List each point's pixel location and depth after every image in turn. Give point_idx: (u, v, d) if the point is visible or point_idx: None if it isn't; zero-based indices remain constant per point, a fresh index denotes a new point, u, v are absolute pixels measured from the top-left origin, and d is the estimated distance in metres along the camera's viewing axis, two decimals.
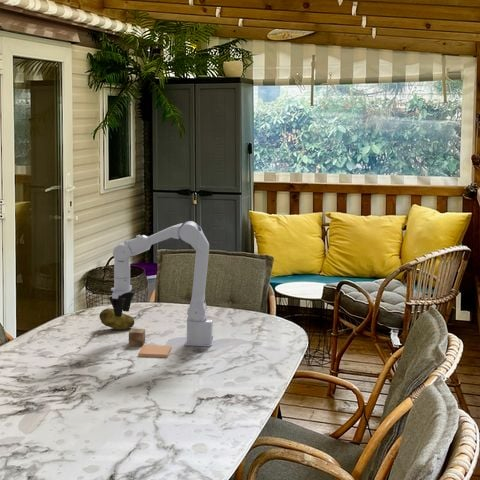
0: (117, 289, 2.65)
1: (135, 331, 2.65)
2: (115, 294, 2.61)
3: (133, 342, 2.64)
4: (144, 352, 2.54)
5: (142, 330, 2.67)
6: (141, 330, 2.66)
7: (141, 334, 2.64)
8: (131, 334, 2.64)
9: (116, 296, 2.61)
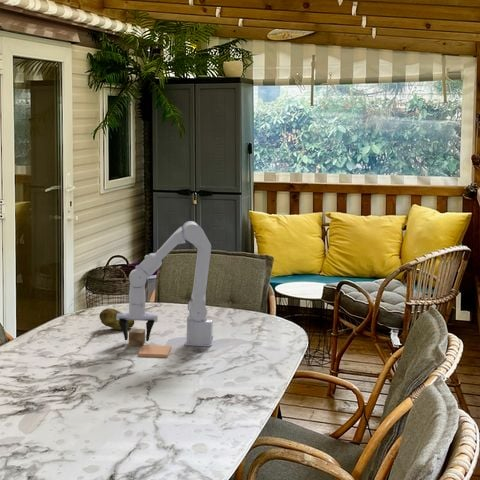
0: None
1: (135, 331, 2.65)
2: None
3: (133, 342, 2.64)
4: (144, 352, 2.54)
5: (142, 330, 2.67)
6: (141, 330, 2.66)
7: (141, 334, 2.64)
8: (131, 334, 2.64)
9: None
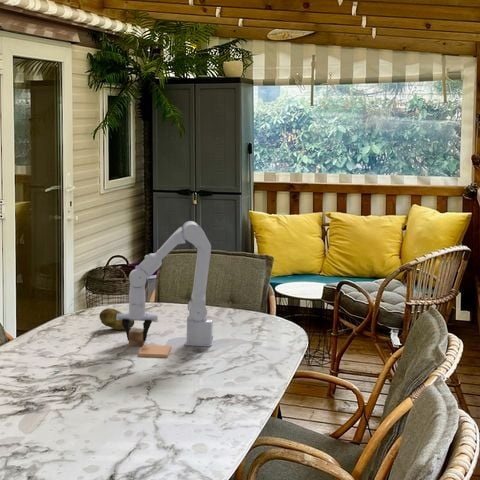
0: None
1: (135, 331, 2.65)
2: None
3: (133, 342, 2.64)
4: (144, 352, 2.54)
5: (142, 330, 2.67)
6: (141, 330, 2.66)
7: (141, 334, 2.64)
8: (131, 334, 2.64)
9: None
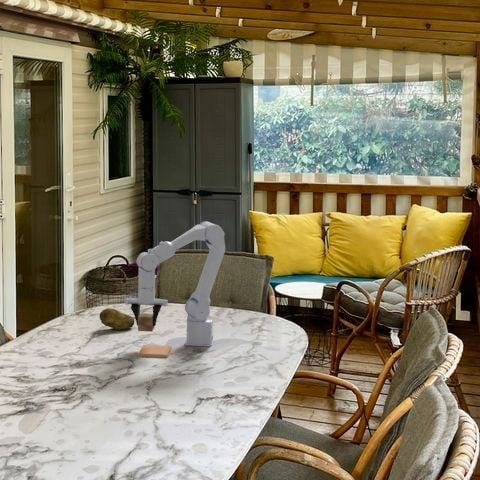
0: None
1: (144, 316, 2.59)
2: None
3: (142, 327, 2.59)
4: (144, 352, 2.54)
5: (151, 315, 2.61)
6: (151, 315, 2.61)
7: (150, 319, 2.58)
8: (141, 319, 2.58)
9: None
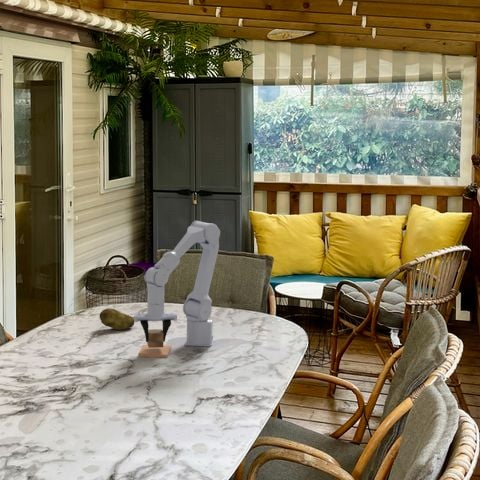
0: None
1: (154, 332, 2.55)
2: (134, 317, 2.54)
3: (154, 343, 2.54)
4: (144, 352, 2.54)
5: (160, 330, 2.57)
6: (160, 331, 2.57)
7: (162, 334, 2.55)
8: (152, 335, 2.54)
9: (134, 319, 2.54)
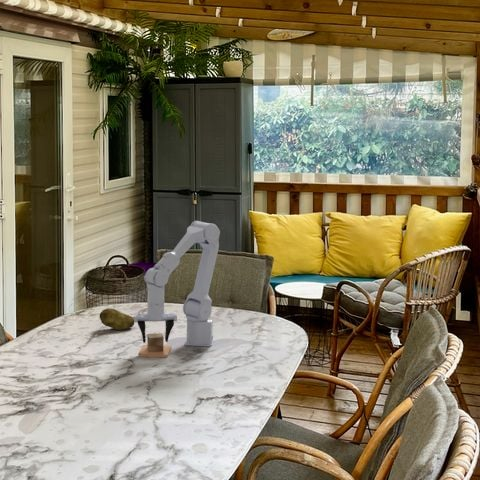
0: None
1: (155, 336, 2.56)
2: (134, 317, 2.54)
3: (154, 348, 2.55)
4: (144, 352, 2.54)
5: (160, 334, 2.58)
6: (160, 335, 2.57)
7: (162, 339, 2.55)
8: (152, 340, 2.54)
9: (134, 319, 2.54)
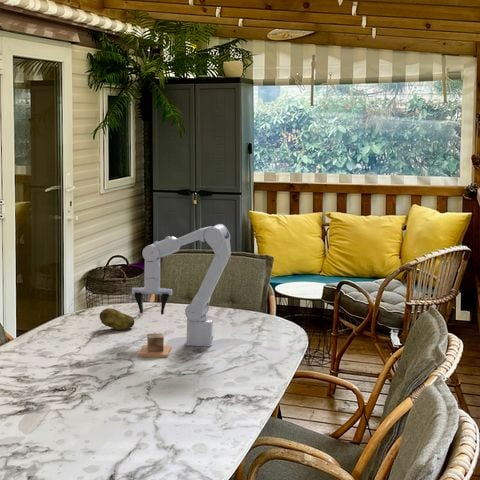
0: None
1: (155, 336, 2.56)
2: None
3: (154, 348, 2.55)
4: (144, 352, 2.54)
5: (160, 334, 2.58)
6: (160, 335, 2.57)
7: (162, 339, 2.55)
8: (152, 340, 2.54)
9: (132, 291, 2.71)
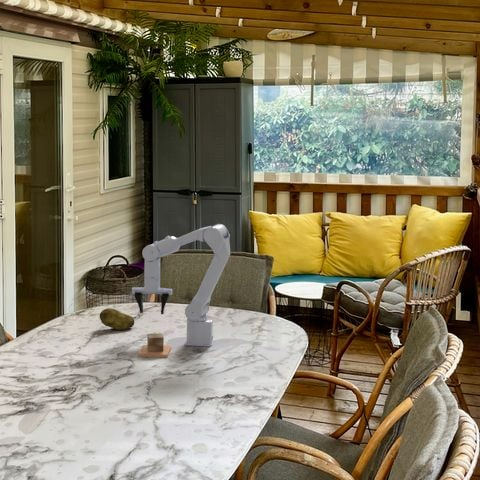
0: None
1: (155, 336, 2.56)
2: None
3: (154, 348, 2.55)
4: (144, 352, 2.54)
5: (160, 334, 2.58)
6: (160, 335, 2.57)
7: (162, 339, 2.55)
8: (152, 340, 2.54)
9: (132, 291, 2.71)
